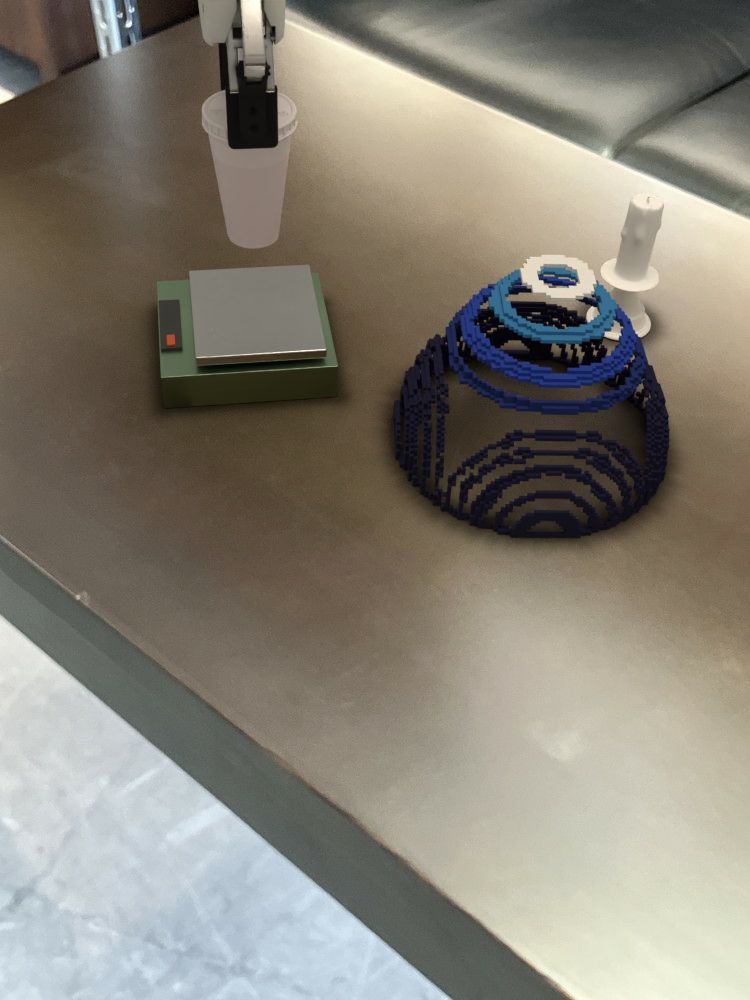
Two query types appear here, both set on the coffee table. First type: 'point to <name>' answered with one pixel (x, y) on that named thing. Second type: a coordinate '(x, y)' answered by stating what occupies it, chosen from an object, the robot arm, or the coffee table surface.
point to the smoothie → (250, 174)
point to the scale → (236, 380)
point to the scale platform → (255, 315)
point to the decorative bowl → (540, 348)
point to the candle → (633, 264)
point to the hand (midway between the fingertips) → (248, 117)
